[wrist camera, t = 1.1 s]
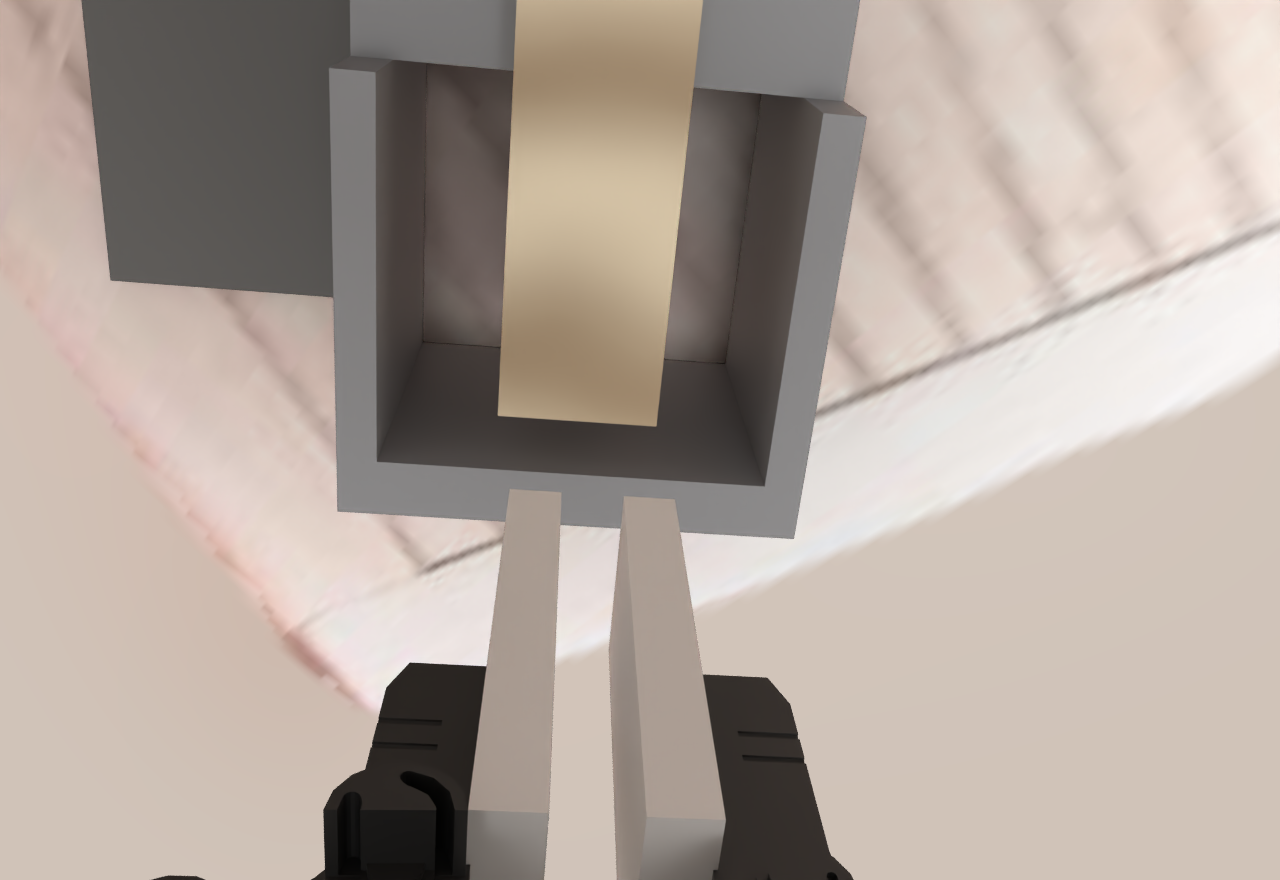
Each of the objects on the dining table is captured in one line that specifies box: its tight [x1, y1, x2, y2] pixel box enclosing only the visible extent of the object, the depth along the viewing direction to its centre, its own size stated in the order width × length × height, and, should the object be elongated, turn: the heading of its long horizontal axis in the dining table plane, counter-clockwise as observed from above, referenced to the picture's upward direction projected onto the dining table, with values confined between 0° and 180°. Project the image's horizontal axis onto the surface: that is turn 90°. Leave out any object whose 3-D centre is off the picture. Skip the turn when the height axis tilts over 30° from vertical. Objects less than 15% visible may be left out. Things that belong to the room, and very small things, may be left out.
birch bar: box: [498, 0, 703, 426], centre depth 26 cm, size 18×4×2 cm, turn 175°
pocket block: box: [329, 0, 867, 539], centre depth 29 cm, size 23×12×9 cm, turn 175°
